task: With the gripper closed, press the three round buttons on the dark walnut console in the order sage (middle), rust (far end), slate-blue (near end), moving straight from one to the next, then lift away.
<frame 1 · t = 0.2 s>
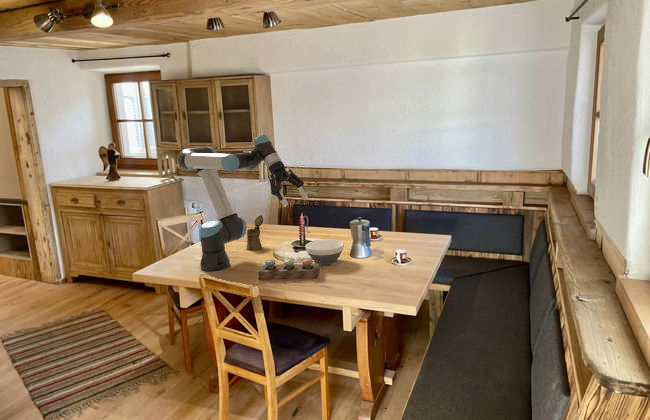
hand: (296, 202, 220), 35 cm above the table, tool tilted 35°, fingers open, 13 cm apart
slate button: (270, 265, 224), point 5 cm above the table, slide at 0.0 cm
sage button: (288, 265, 223), point 5 cm above the table, slide at 0.0 cm
rust button: (307, 264, 221), point 5 cm above the table, slide at 0.0 cm
bowl: (325, 262, 240), on the table
console: (289, 275, 224), on the table
brown lidded stein: (256, 247, 276), on the table
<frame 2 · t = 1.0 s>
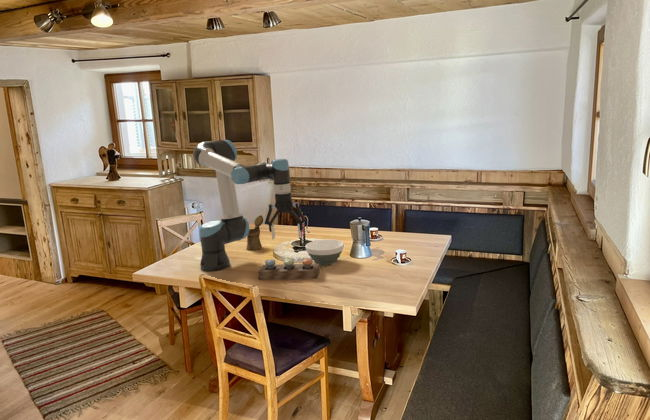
hand: (286, 237, 220), 19 cm above the table, tool pointing down, fingers open, 12 cm apart
nothing on the table moved.
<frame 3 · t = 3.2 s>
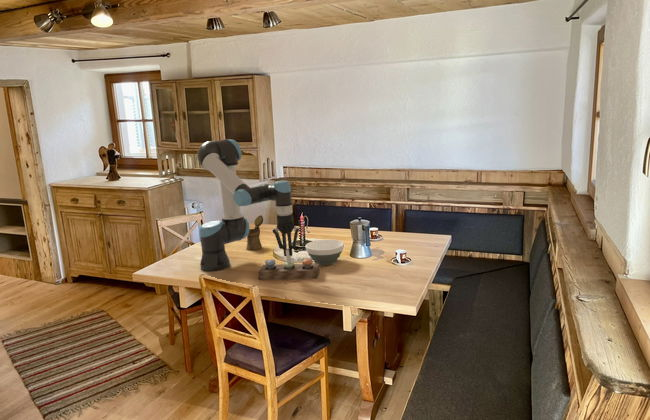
hand: (289, 262, 222), 7 cm above the table, tool pointing down, fingers closed
sage button: (289, 267, 223), point 4 cm above the table, slide at 1.2 cm, touching gripper
everything else where it was.
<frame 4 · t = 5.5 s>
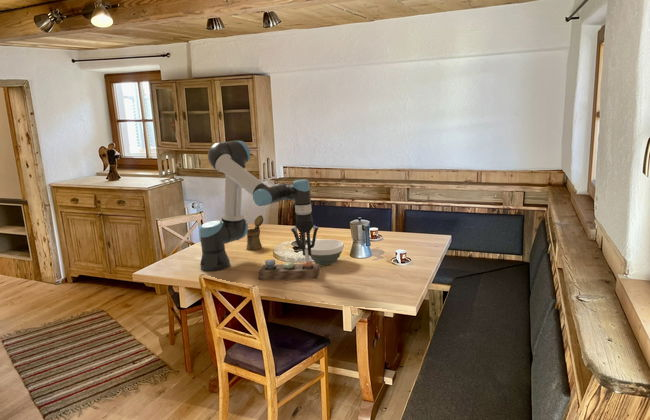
hand: (307, 261, 221), 7 cm above the table, tool pointing down, fingers closed
sage button: (289, 268, 223), point 4 cm above the table, slide at 1.6 cm
rust button: (307, 266, 222), point 4 cm above the table, slide at 1.0 cm, touching gripper
everything else where it was.
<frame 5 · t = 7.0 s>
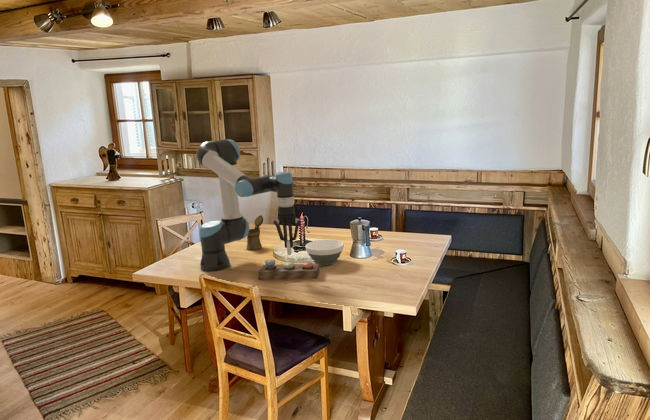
hand: (289, 254, 222), 11 cm above the table, tool pointing down, fingers closed
rust button: (307, 268, 222), point 4 cm above the table, slide at 1.6 cm
everything else where it was.
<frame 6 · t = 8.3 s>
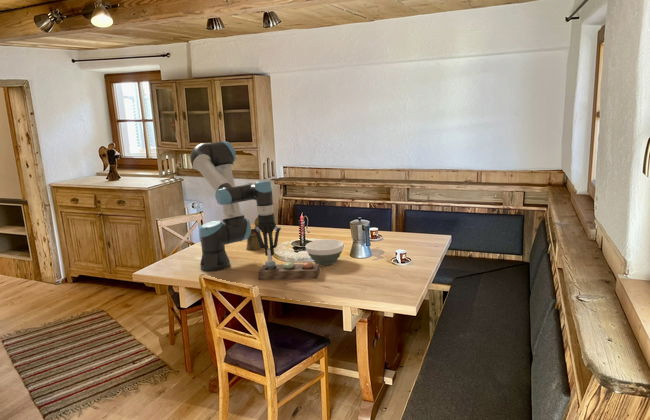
hand: (270, 261, 223), 7 cm above the table, tool pointing down, fingers closed
slate button: (270, 266, 224), point 5 cm above the table, slide at 0.7 cm, touching gripper
everything else where it was.
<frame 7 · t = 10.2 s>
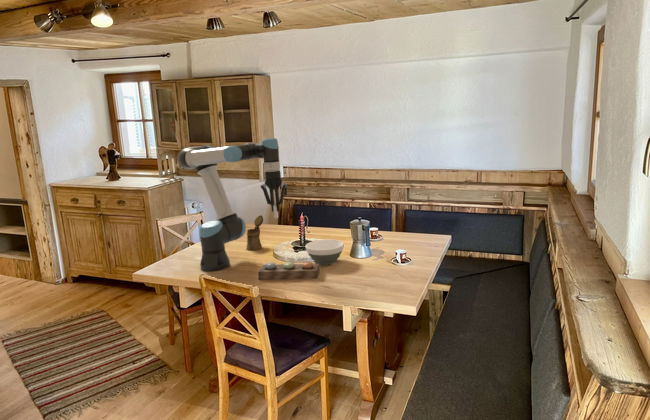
hand: (276, 217, 232), 26 cm above the table, tool pointing down, fingers closed
slate button: (270, 268, 224), point 4 cm above the table, slide at 1.6 cm
everything else where it was.
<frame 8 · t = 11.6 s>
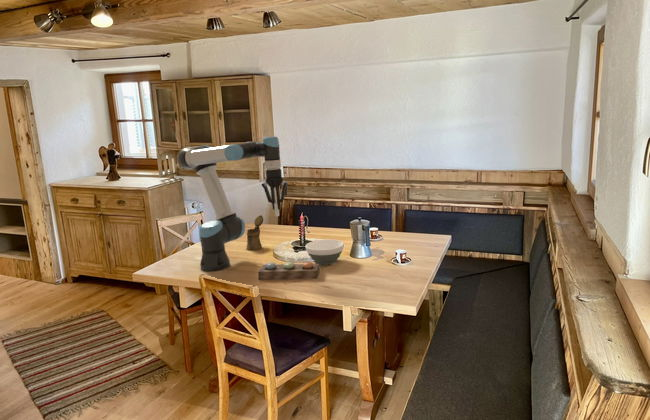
hand: (277, 215, 233), 26 cm above the table, tool pointing down, fingers closed
nothing on the table moved.
at the end: sage button slide at 1.6 cm; rust button slide at 1.6 cm; slate button slide at 1.6 cm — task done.
